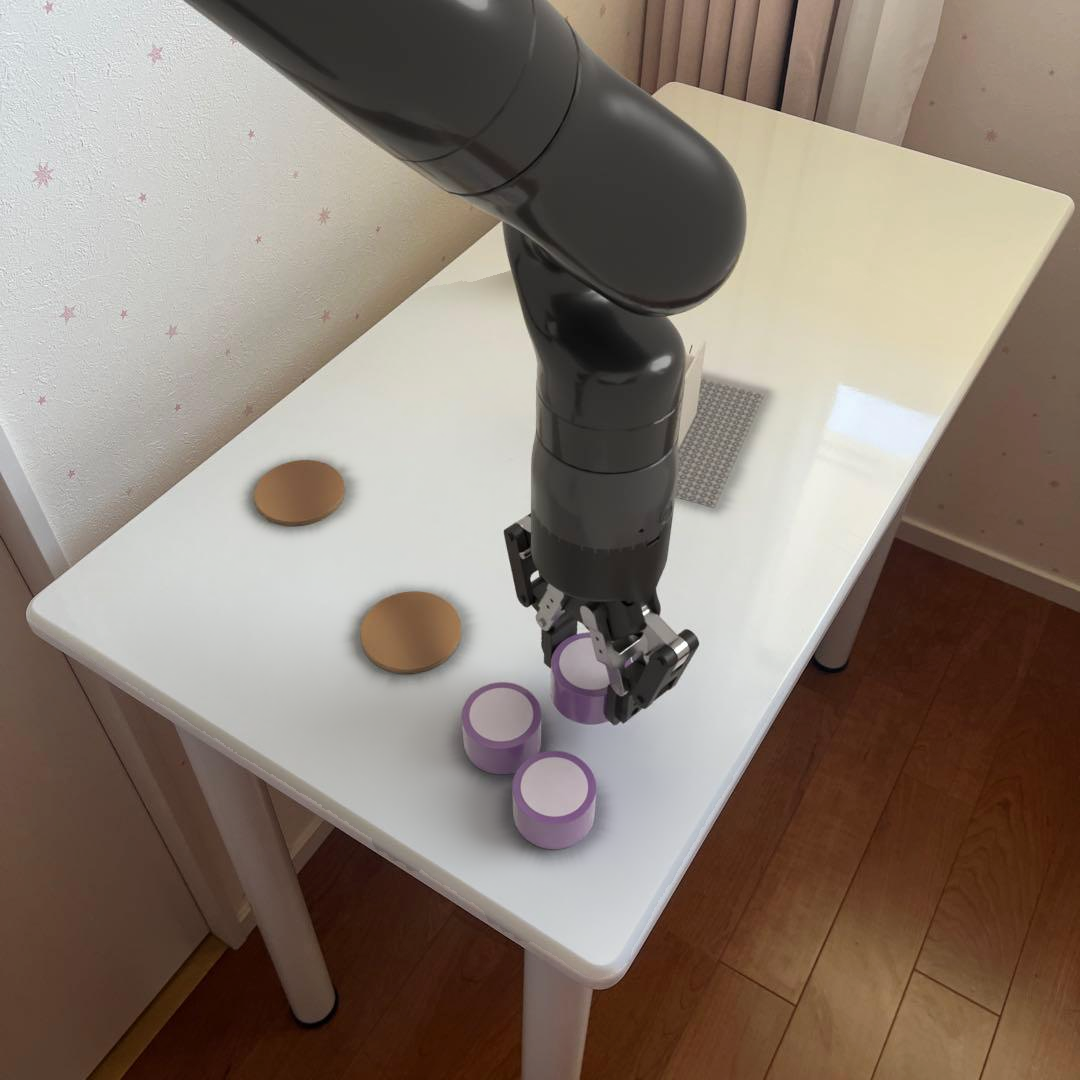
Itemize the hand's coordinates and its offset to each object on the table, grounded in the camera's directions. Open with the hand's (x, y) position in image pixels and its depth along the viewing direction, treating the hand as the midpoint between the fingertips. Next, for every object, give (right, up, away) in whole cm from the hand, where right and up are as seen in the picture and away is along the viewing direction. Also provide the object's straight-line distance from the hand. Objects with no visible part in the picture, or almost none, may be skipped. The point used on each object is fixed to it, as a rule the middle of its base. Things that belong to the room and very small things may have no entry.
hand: (590, 686), depth 70 cm
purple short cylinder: (0, 0, +1) cm, 1 cm away
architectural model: (+8, +18, +23) cm, 30 cm away
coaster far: (-22, +13, +17) cm, 31 cm away
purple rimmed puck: (-2, -7, -2) cm, 8 cm away
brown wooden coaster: (-12, +3, +8) cm, 15 cm away
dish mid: (-6, -4, +2) cm, 7 cm away
